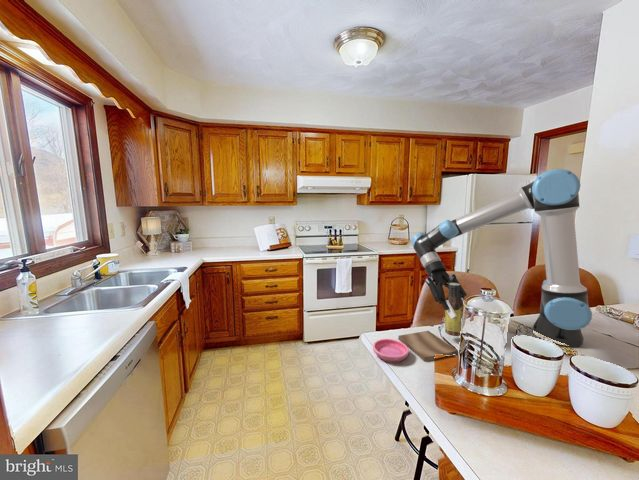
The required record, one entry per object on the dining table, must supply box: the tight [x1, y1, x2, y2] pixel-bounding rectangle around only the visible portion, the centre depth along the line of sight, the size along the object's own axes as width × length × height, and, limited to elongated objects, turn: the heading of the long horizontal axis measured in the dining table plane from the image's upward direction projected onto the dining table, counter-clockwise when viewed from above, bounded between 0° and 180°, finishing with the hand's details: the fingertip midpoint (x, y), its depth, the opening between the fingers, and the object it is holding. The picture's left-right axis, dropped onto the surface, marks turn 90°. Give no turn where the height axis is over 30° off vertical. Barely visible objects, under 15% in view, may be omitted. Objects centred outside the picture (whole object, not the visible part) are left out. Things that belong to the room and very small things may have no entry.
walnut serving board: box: [397, 330, 459, 362], centre depth 102 cm, size 14×16×2 cm
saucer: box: [372, 338, 410, 363], centre depth 97 cm, size 12×12×3 cm
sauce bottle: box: [444, 283, 463, 337], centre depth 105 cm, size 7×6×20 cm
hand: (461, 316), depth 102 cm, fingers closed on sauce bottle, 6 cm apart
